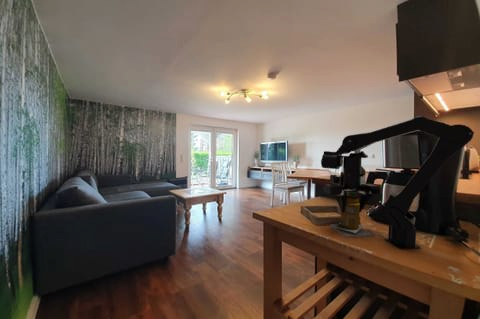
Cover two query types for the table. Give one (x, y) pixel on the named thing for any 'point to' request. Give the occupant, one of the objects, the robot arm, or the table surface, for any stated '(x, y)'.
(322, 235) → the table surface
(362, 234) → the rubber mat
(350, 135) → the robot arm
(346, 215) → the condiment
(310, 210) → the wooden tray
